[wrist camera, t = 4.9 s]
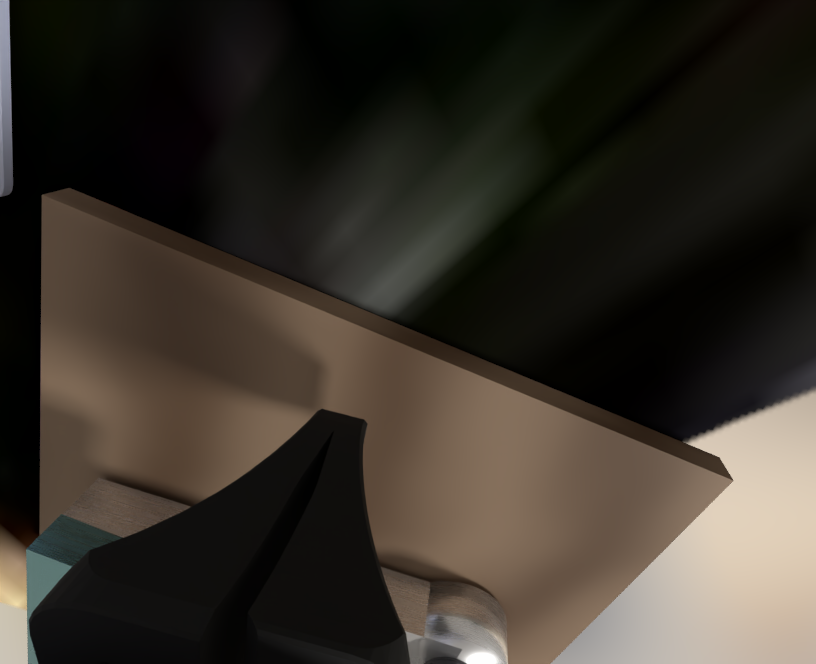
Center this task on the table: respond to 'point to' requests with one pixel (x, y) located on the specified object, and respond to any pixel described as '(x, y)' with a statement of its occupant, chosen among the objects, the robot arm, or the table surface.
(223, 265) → the board
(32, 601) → the block
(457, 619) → the latch bar
